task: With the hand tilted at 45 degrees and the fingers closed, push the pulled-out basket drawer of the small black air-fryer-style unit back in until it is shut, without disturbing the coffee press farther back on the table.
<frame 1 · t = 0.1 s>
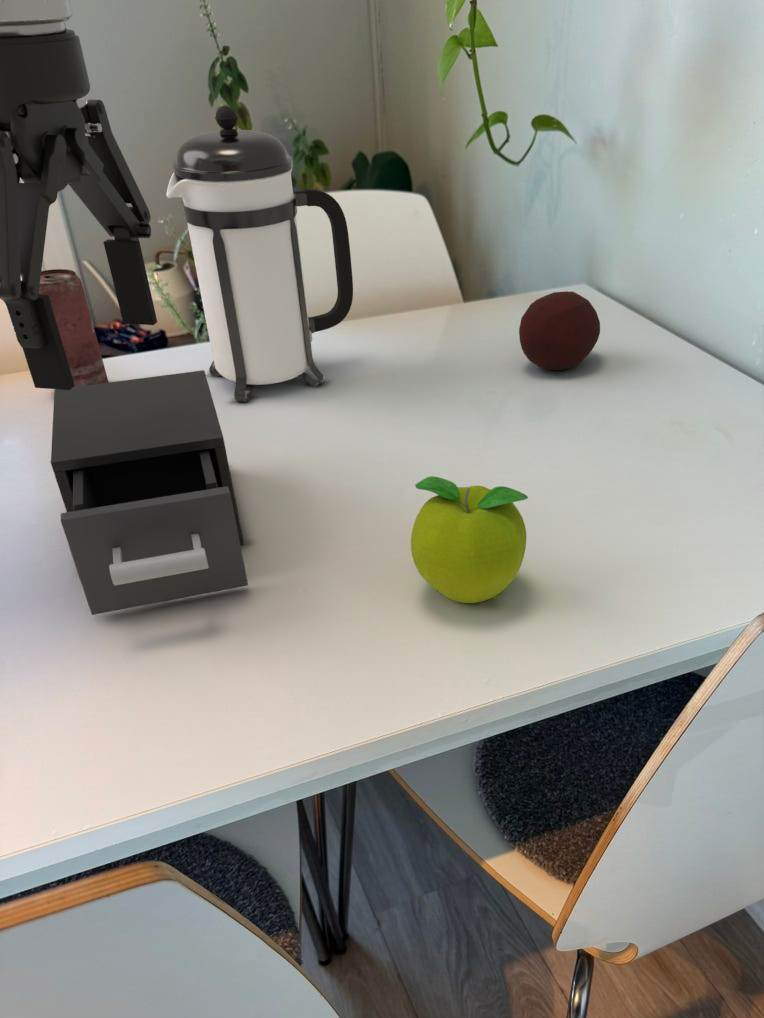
hand: (101, 353, 72), 19 cm above the table, tool pointing down, fingers open, 13 cm apart
can: (83, 394, 113), on the table
fruit: (468, 594, 79), on the table
coffee press: (275, 378, 116), on the table
drawer: (155, 523, 77), point 5 cm above the table, slide at 7.0 cm
fryer: (161, 517, 89), on the table
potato: (559, 367, 118), on the table
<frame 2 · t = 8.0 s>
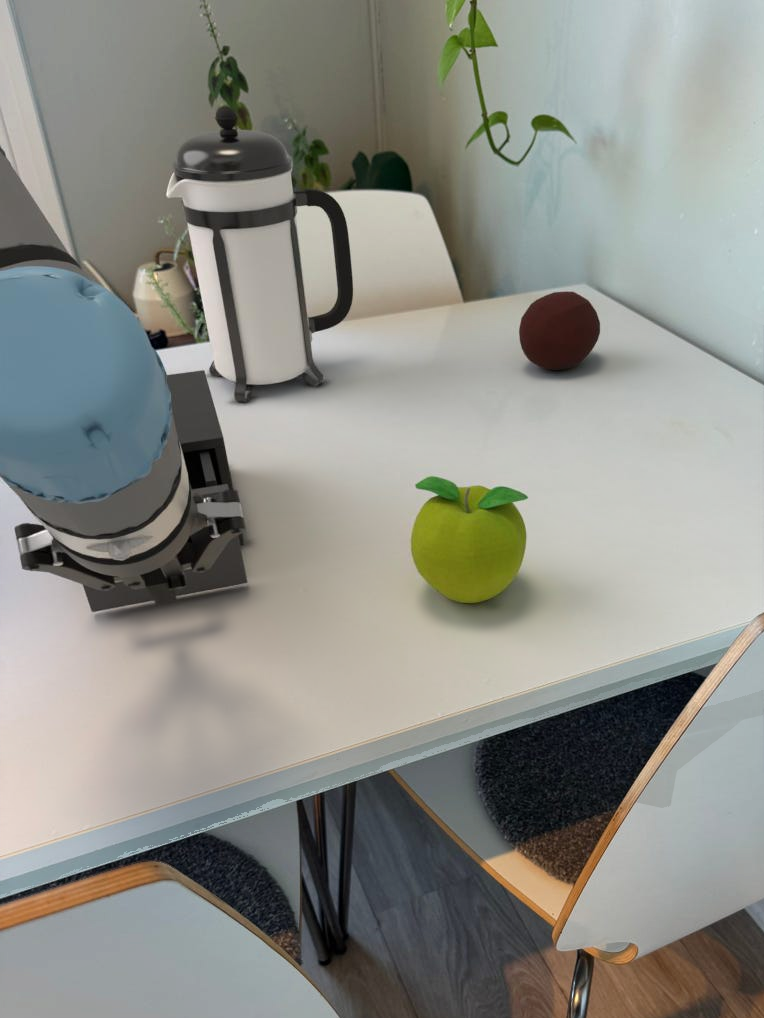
hand: (163, 584, 69), 6 cm above the table, tool tilted 45°, fingers closed
drawer: (155, 521, 78), point 5 cm above the table, slide at 6.6 cm, touching gripper
everything else where it was.
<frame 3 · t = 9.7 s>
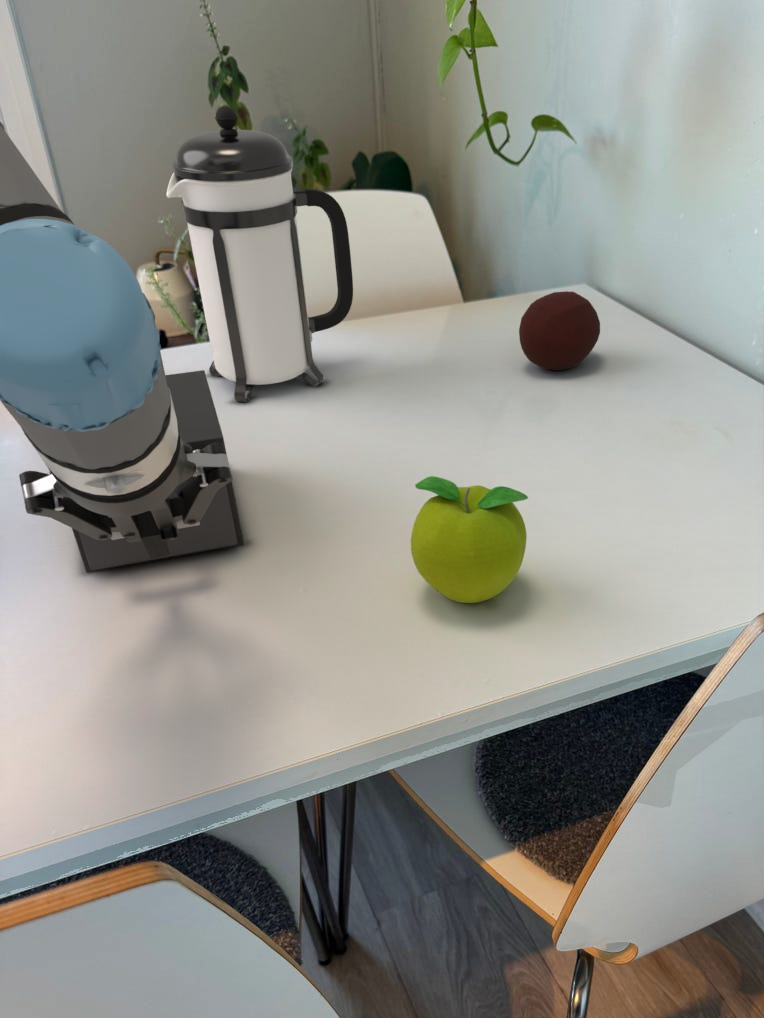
hand: (157, 540, 74), 6 cm above the table, tool tilted 45°, fingers closed
drawer: (150, 486, 83), point 5 cm above the table, slide at 0.1 cm, touching gripper
everything else where it was.
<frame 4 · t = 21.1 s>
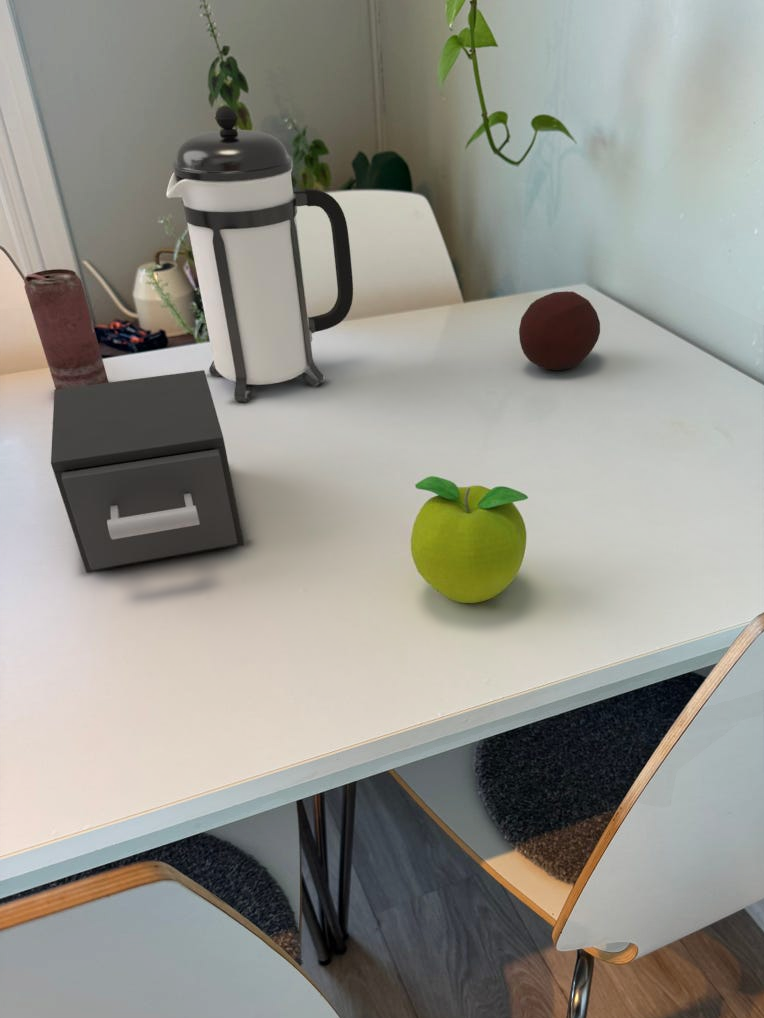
drawer: (150, 486, 83), point 5 cm above the table, slide at 0.0 cm
everything else where it was.
at the end: drawer slide at 0.0 cm; coffee press moved 0.2 cm from its start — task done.
